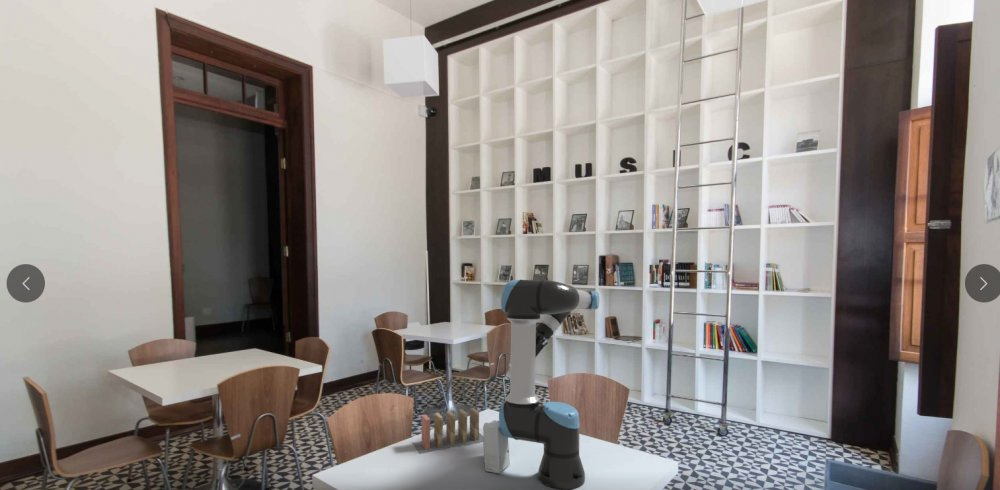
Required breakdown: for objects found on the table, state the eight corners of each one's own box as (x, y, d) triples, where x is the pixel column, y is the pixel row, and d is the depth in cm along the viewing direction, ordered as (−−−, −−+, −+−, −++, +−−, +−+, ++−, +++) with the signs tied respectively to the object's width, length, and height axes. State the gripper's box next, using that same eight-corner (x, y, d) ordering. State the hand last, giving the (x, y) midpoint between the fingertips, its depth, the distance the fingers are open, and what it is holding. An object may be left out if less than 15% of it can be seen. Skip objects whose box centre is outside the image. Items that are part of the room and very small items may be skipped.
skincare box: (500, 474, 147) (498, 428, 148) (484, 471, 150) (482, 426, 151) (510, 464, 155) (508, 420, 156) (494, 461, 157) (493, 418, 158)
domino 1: (425, 443, 172) (425, 414, 173) (429, 448, 167) (430, 419, 167) (421, 443, 172) (421, 415, 172) (425, 449, 166) (426, 419, 167)
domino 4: (461, 437, 179) (461, 409, 179) (467, 442, 173) (467, 413, 174) (457, 437, 178) (458, 409, 179) (463, 443, 173) (463, 414, 173)
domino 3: (450, 438, 177) (450, 410, 177) (455, 444, 171) (455, 415, 172) (446, 439, 176) (446, 411, 176) (451, 445, 170) (451, 416, 171)
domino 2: (437, 441, 174) (438, 412, 175) (442, 446, 169) (442, 417, 170) (433, 441, 174) (434, 413, 174) (438, 447, 168) (438, 418, 169)
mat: (478, 432, 184) (478, 431, 184) (488, 442, 175) (488, 441, 175) (411, 443, 173) (411, 442, 173) (419, 454, 163) (419, 453, 163)
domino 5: (473, 435, 181) (473, 407, 181) (478, 440, 175) (479, 412, 176) (469, 435, 180) (469, 408, 181) (475, 440, 175) (475, 412, 175)
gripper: (563, 336, 187) (529, 379, 179) (542, 330, 203) (509, 370, 195) (553, 324, 185) (518, 367, 177) (531, 319, 201) (499, 359, 193)
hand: (513, 368), depth 186 cm, fingers open, 5 cm apart
